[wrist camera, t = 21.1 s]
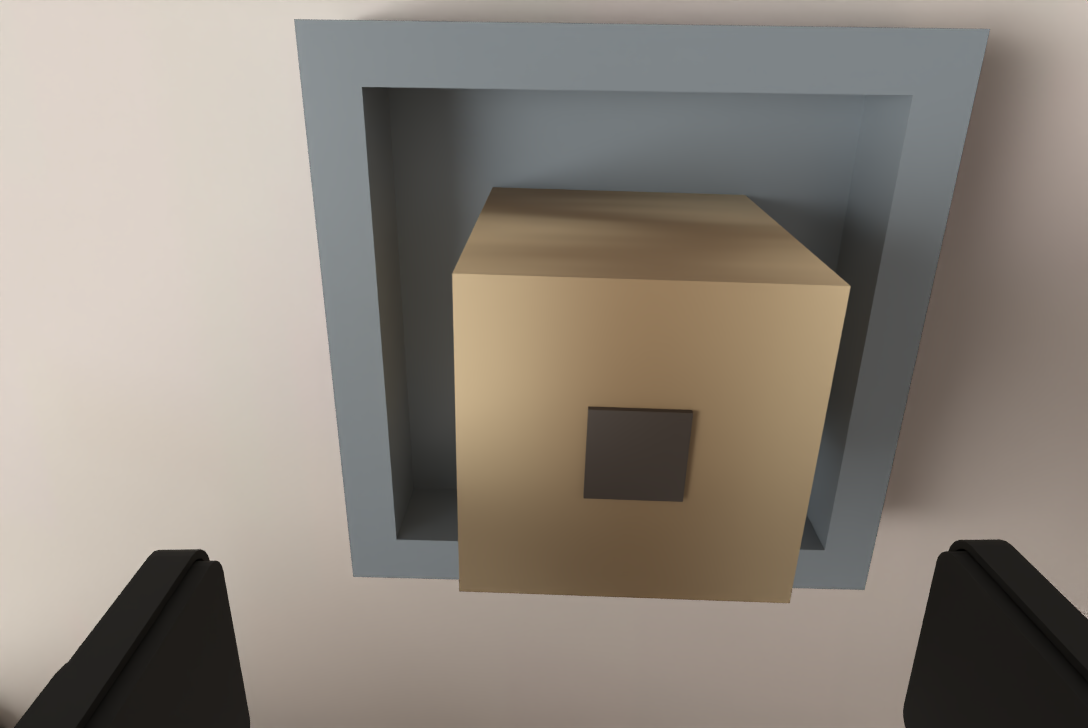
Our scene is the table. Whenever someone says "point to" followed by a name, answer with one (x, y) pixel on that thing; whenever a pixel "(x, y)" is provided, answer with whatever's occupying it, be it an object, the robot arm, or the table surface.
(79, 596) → the table surface
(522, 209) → the oak block
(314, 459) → the table surface
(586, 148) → the tray
